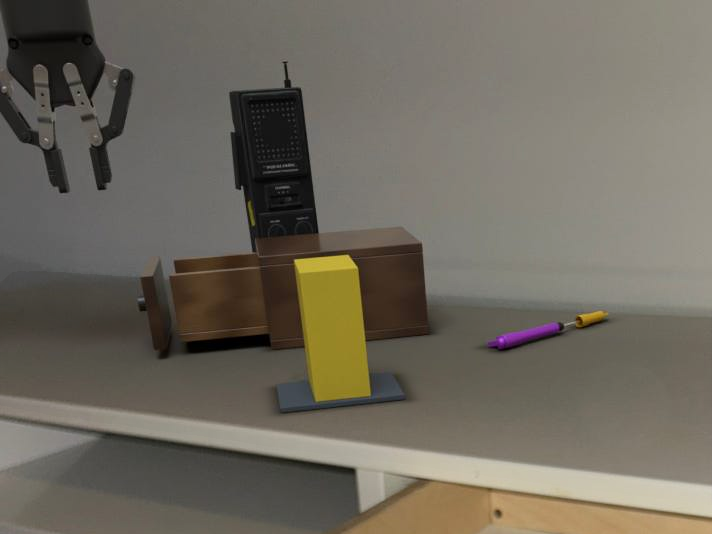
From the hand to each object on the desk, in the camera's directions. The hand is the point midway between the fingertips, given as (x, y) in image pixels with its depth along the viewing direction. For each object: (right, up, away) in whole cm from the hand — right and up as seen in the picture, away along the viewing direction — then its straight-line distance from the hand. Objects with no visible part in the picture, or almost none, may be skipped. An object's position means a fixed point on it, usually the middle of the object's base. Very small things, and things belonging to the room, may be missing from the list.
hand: (83, 190), depth 101 cm
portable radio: (+16, -6, +20) cm, 27 cm away
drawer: (+11, -11, +8) cm, 18 cm away
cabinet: (+23, -10, +11) cm, 28 cm away
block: (+26, -22, -12) cm, 36 cm away
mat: (+26, -22, -12) cm, 36 cm away
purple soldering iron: (+45, -13, +4) cm, 46 cm away
